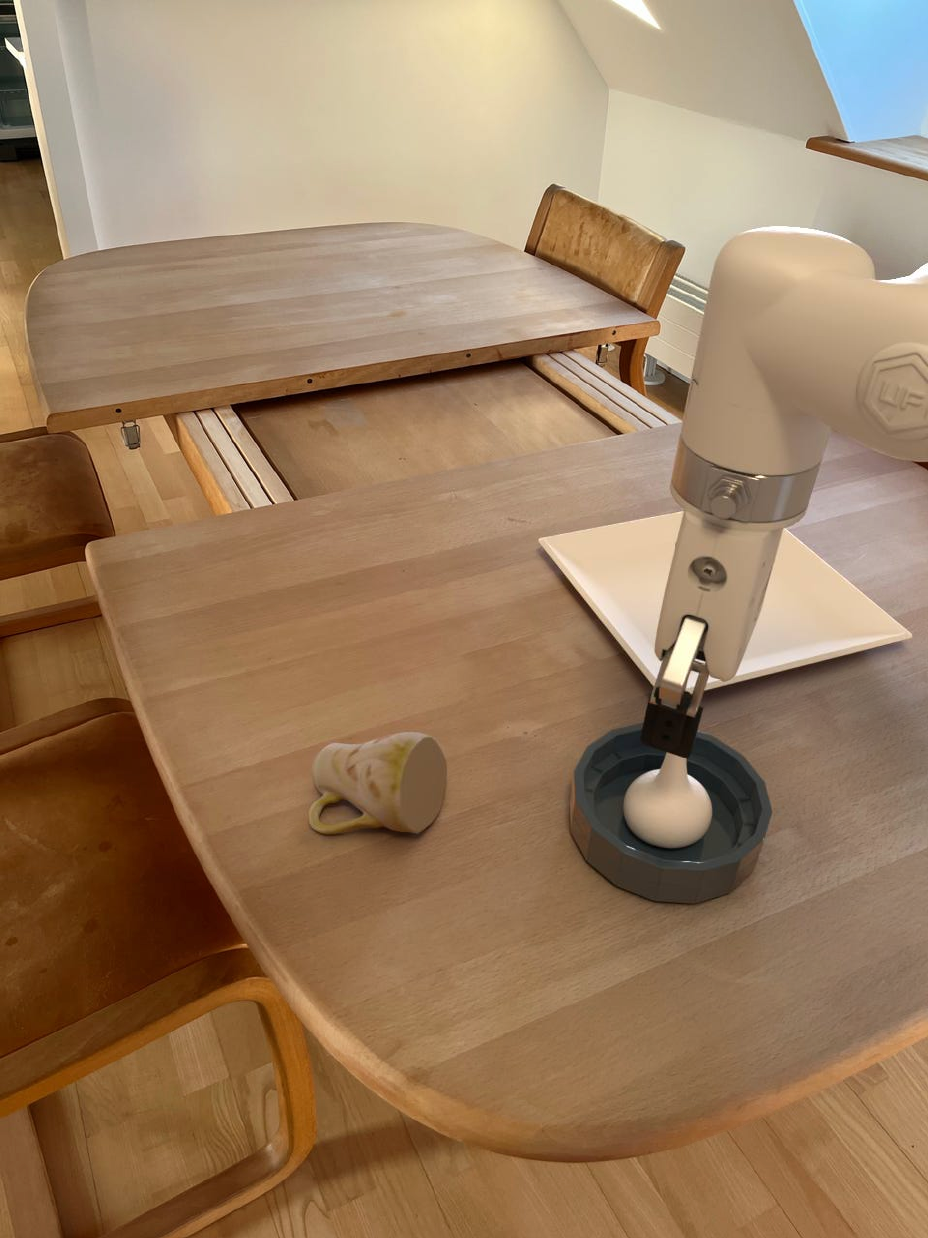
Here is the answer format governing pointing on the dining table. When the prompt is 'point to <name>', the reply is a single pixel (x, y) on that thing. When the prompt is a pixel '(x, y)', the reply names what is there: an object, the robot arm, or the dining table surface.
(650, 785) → the garlic bulb
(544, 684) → the dining table surface
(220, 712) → the dining table surface
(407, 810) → the mug
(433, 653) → the dining table surface
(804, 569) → the plate
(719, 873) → the bowl
